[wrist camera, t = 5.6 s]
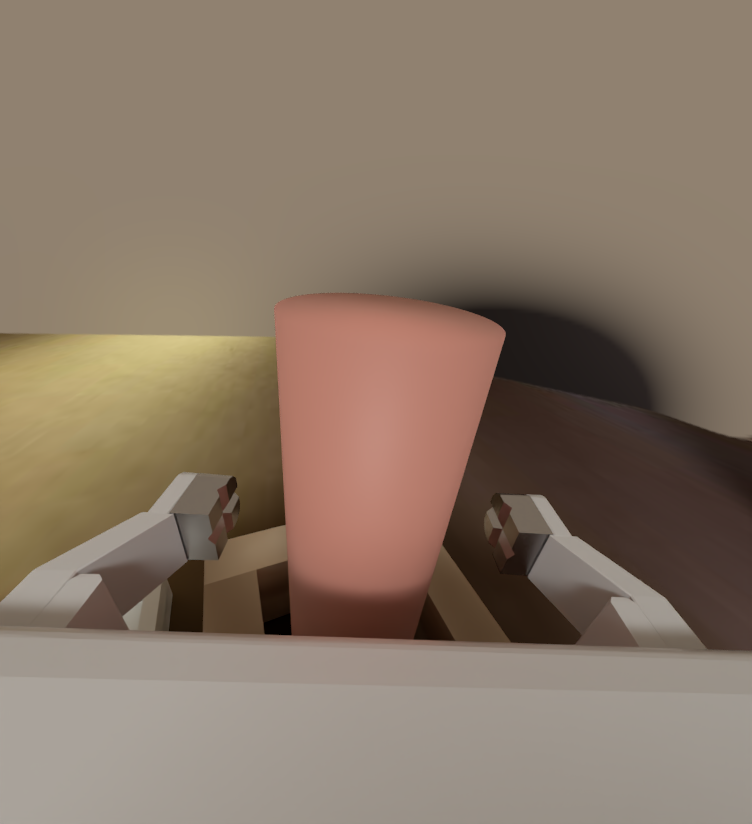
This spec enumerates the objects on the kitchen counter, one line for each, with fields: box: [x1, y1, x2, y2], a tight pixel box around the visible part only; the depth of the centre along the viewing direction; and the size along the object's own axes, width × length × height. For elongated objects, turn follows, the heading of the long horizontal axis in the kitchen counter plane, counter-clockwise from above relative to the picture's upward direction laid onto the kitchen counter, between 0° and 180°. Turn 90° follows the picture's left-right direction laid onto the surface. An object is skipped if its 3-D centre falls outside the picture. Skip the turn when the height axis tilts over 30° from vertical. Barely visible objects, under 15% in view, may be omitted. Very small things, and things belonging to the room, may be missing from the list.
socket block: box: [203, 525, 511, 643], centre depth 13 cm, size 10×10×4 cm
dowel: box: [274, 293, 506, 640], centre depth 10 cm, size 4×4×15 cm
